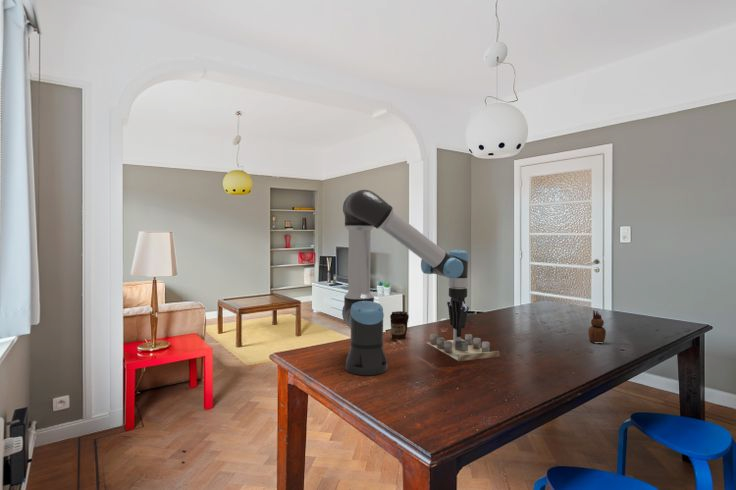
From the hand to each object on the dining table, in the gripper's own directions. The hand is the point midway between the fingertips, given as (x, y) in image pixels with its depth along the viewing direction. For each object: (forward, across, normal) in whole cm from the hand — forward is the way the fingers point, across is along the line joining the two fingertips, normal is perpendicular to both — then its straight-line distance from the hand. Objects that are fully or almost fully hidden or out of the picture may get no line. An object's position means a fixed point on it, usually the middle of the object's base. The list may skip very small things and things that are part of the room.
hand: (456, 343), depth 168 cm
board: (+3, -3, 0) cm, 4 cm away
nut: (+1, -3, 0) cm, 3 cm away
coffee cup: (+3, +21, +17) cm, 27 cm away
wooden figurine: (+3, -10, -67) cm, 68 cm away
